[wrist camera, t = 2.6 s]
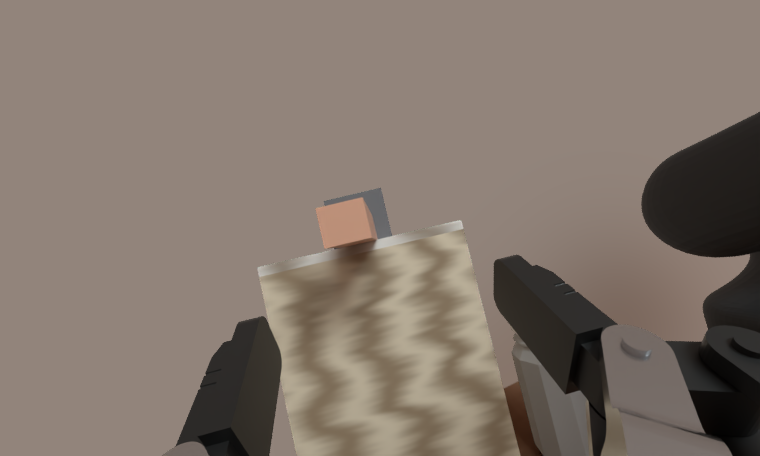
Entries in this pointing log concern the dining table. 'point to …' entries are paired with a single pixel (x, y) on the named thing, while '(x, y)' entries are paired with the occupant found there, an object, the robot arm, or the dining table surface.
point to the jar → (550, 407)
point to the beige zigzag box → (388, 350)
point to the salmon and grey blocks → (353, 219)
